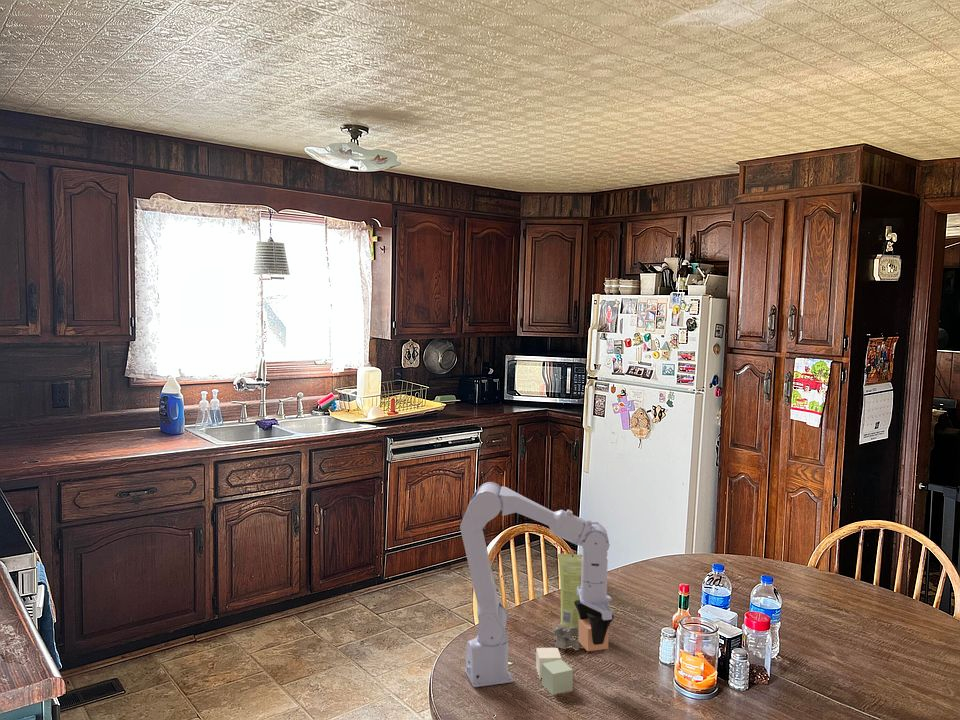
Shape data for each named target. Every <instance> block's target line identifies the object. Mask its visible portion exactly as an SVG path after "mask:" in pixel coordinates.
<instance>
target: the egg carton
mask: <svg viewBox="0 0 960 720" xmlns="http://www.w3.org/2000/svg"><path fill="white" fill-rule="evenodd" d="M553 634H554V635H553V639H554V640H556V642H555V647H556V646H557V647H560V648H564V649H565V648H566V647H569V646H572V647H574V648H575V649H579V648H580V647H583V646H582V645H581V644H580V642H579V641H578V637H579V626H577V627H566V626H561V625H558V626H556V627H555V628H554V629H553ZM571 636H576V637H577V639H576V638H570V637H571ZM579 650H580V649H579Z"/></svg>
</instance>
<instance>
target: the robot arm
mask: <svg viewBox="0 0 960 720" xmlns="http://www.w3.org/2000/svg"><path fill="white" fill-rule="evenodd" d="M501 511H502V514H501V515H502V517H503V516H508V515H512V514H518V515H522V516H524V517H527V518H528V519H530V520H534V521H536V522H539V523H541V524H544V525H546V526H548V527H549V530H550V532H551V534H553V535H555V536H556V537H558V538H561V539H564V540H565V541H568V542H570V543H571V544H574V545H576V546H581V547H582V555H583V557H582V572H581V586H579V587H577V595H578V596H579V598H580V600H576V601H574V604H575V606H576V608H577V610H578V613H579V616H580V620H582V619H589V621H590V624H591V629H592V639H593V643H594V645H598V644H603V642H604V639H605V635H606V632H607V629H608V627H609V628H610V625H611V623H612V621H613V620H614V618H615V617H614V614H613V610H612V609H611V607H610V603H609V602H611V601H612V597H611V596H610V595H608V565H609V563H608V561H609V560H608V558H607V557H608V551H609V549H610V543H609V542H610V541H609V536H608V533H607V530H606V528H605V527H604V526H603V525H602V524H600V523H599V522H597V521H592V520H590V519H588V520H585V519H582V518H580V517H579V516H578V515H577V516H576V515H574V514H573V511H572V510H571V509H567V510H564V509H559V510H556V511H553V510H551V509H549V508H547V507H545V506H544V505H541V504H540V503H537V502H536V501H533V500H532V499H529V498H528V497H525V496H524V495H522V494H520V493H518V492H516V491H515V490H512V489H511V488H509V487H508V486H507V487H506V486H504V485H502V486H500V485H499V484H498V483H496V482H493V481H487V482H485V483H482V484H481V485H480V486H479V487H478V488H477V489H476V490H475V492H474V493H473V494H472V496H471V499H470V501H469V503H468V505H467V507H466V511H465V512H464V515H463V517H462V520H461V522H460V525H459V527H460V528H459V529H460V532H461V538H462V542H463V547H464V550H465V555H466V559H467V565H468V568H469V574H470V576H471V581H472V586H473V591H474V595H475V598H476V609H477V610H476V611H477V612H476V613H477V614H476V615H477V618H478V619H477V621H478V624H477V628H476V634H477V635H476V637H475V638H473V639H471V640H470V639H469V640H467V641H466V644H465V669H464V672H465V673H466V675H467V677H468V680H469V681H470V683H471V685H472V687H473V688H479V687H485V686H494V685H495V686H496V685H499V684H500V685H502V684H508V683H513V682H514V678H513V677H512V674H511V673H510V671H508V670H509V635H508V633H507V632H506V627H507V626H506V625H507V622H508V619H509V616H508V615H509V614H508V611H507V608H506V607H505V606H504V605H503V603H502V601H501V597H500V595H499V593H498V592H497V588H496V583H495V579H494V574H493V571H492V564H491V561H490V557H489V552H488V548H487V543H486V540H485V535H484V531H483V529H484V528H485V527H486V525H487V524H488V522H490V521H491V520H493V519H495V518H496V517H497V516H498V515H499V514H500V512H501Z"/></svg>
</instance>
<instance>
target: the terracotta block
mask: <svg viewBox="0 0 960 720" xmlns="http://www.w3.org/2000/svg"><path fill="white" fill-rule="evenodd" d="M609 629H610V626H609V627H608V629H607V632H606V635H605V639H604V642H603V644H598V645H594V643H593V639H592V629H591V624H590V621H589V619H582V620H579V637H578V641H579V642H580V644H581V645H582V646H583V647H584V648H583V649H585V650H586V651H587V652H592V651H602V650H608V649H609V633H610V632H609V631H610V630H609Z"/></svg>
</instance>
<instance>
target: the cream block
mask: <svg viewBox="0 0 960 720" xmlns="http://www.w3.org/2000/svg"><path fill="white" fill-rule="evenodd" d="M535 653H536V654H535V670H536V669H537V670H536V672H538V673H537V675H539V677H538V679H539V678H542V664H543V663H547V662H552V661H557V660H562V656H561V653H560V650H559V648H556V647H536V651H535Z"/></svg>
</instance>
